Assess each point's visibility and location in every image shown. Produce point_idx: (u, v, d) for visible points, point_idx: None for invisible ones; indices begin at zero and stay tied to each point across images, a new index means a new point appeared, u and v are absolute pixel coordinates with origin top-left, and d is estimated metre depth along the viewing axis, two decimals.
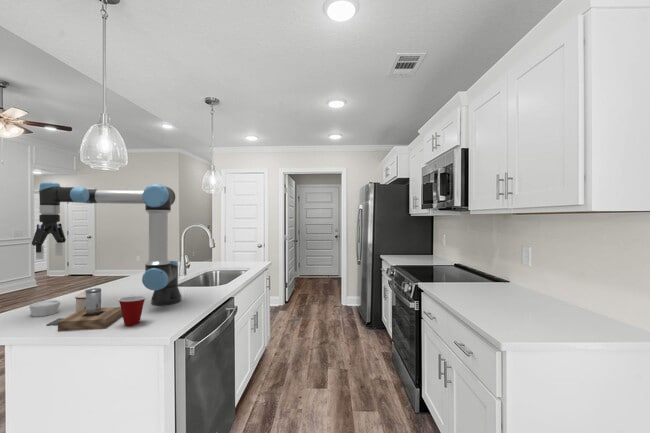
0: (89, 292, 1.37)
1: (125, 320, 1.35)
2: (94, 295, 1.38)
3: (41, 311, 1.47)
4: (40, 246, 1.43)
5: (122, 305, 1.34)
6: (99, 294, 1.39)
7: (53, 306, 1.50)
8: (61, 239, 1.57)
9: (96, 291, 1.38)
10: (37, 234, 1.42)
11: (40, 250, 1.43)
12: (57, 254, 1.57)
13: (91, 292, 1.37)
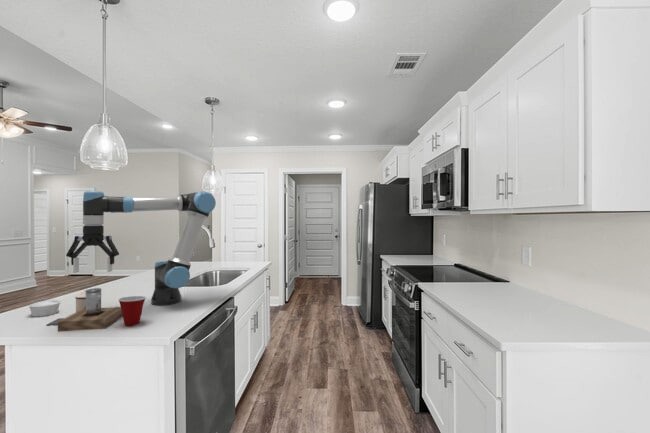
0: (89, 292, 1.37)
1: (125, 320, 1.35)
2: (94, 295, 1.38)
3: (41, 311, 1.47)
4: (73, 258, 1.37)
5: (122, 305, 1.34)
6: (99, 294, 1.39)
7: (53, 306, 1.50)
8: (108, 253, 1.39)
9: (96, 291, 1.38)
10: None
11: (72, 263, 1.37)
12: None
13: (91, 292, 1.37)
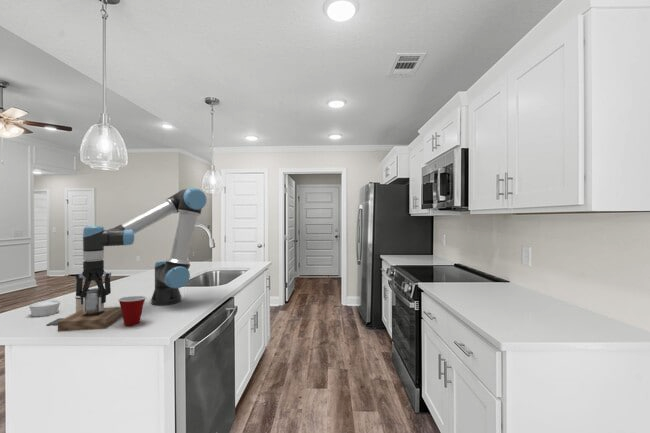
0: (89, 292, 1.37)
1: (125, 320, 1.35)
2: (94, 295, 1.38)
3: (41, 311, 1.47)
4: (82, 298, 1.38)
5: (122, 305, 1.34)
6: (99, 294, 1.39)
7: (53, 306, 1.50)
8: (101, 292, 1.39)
9: (96, 291, 1.38)
10: None
11: (82, 302, 1.38)
12: None
13: (91, 292, 1.37)
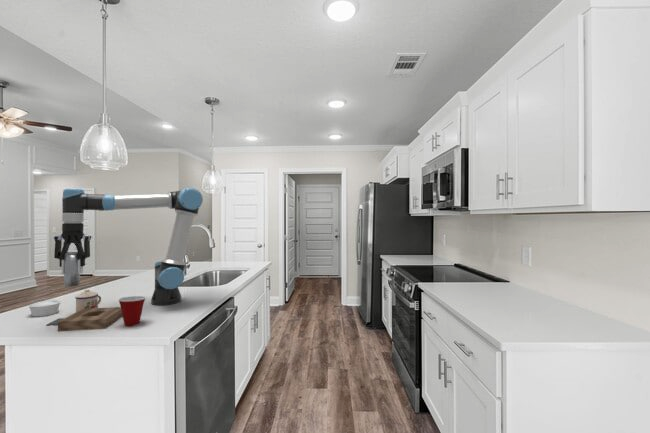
0: (68, 254, 1.37)
1: (125, 320, 1.35)
2: (73, 257, 1.37)
3: (41, 311, 1.47)
4: (61, 260, 1.38)
5: (122, 305, 1.34)
6: (78, 257, 1.39)
7: (53, 306, 1.50)
8: (80, 255, 1.39)
9: (75, 253, 1.38)
10: None
11: (61, 264, 1.38)
12: None
13: (70, 254, 1.37)
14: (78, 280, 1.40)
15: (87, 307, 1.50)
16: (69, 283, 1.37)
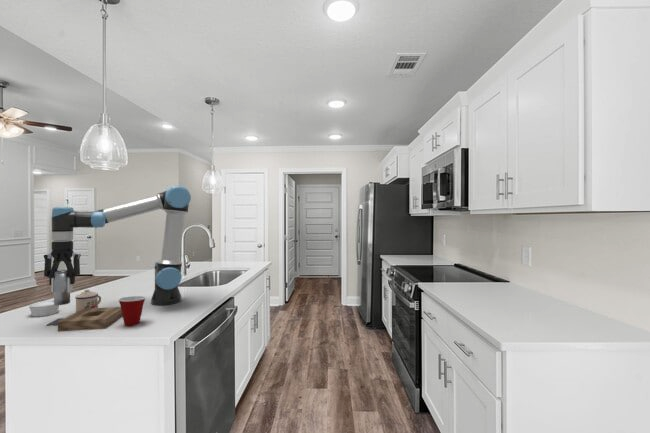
0: (57, 273, 1.37)
1: (125, 320, 1.35)
2: (62, 276, 1.38)
3: (41, 311, 1.47)
4: (51, 278, 1.38)
5: (122, 305, 1.34)
6: (68, 275, 1.40)
7: (53, 306, 1.50)
8: (69, 273, 1.39)
9: (64, 272, 1.38)
10: None
11: (51, 283, 1.38)
12: None
13: (59, 273, 1.37)
14: (68, 298, 1.40)
15: (87, 307, 1.50)
16: (58, 302, 1.37)
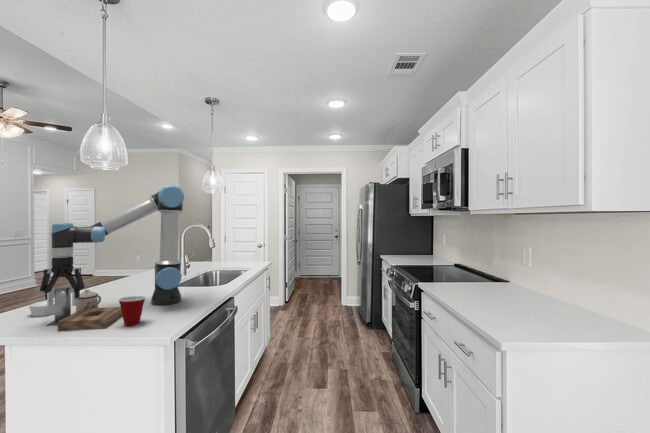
0: (58, 290, 1.37)
1: (125, 320, 1.35)
2: (63, 293, 1.38)
3: (41, 311, 1.47)
4: (46, 293, 1.38)
5: (122, 305, 1.34)
6: (68, 292, 1.40)
7: (53, 306, 1.50)
8: (73, 287, 1.40)
9: (64, 289, 1.38)
10: None
11: (46, 297, 1.38)
12: None
13: (60, 290, 1.37)
14: (69, 315, 1.40)
15: (87, 307, 1.50)
16: (59, 319, 1.37)
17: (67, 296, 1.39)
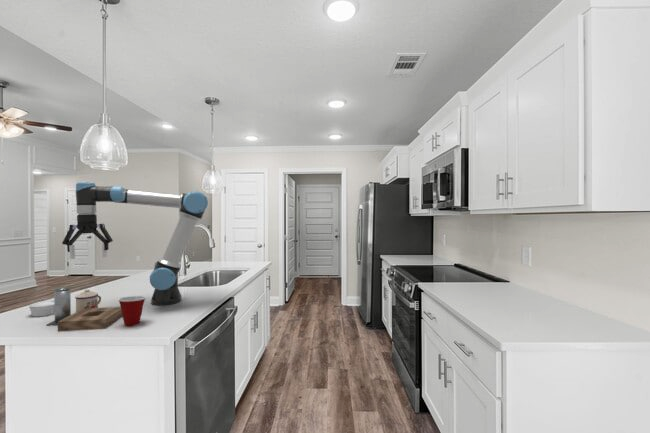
0: (57, 290, 1.37)
1: (125, 320, 1.35)
2: (62, 293, 1.38)
3: (41, 311, 1.47)
4: (68, 246, 1.46)
5: (122, 305, 1.34)
6: (68, 292, 1.40)
7: (53, 306, 1.50)
8: (102, 240, 1.49)
9: (64, 290, 1.38)
10: None
11: (69, 250, 1.46)
12: None
13: (59, 290, 1.37)
14: (69, 315, 1.40)
15: (87, 307, 1.50)
16: (59, 319, 1.37)
17: (67, 296, 1.39)
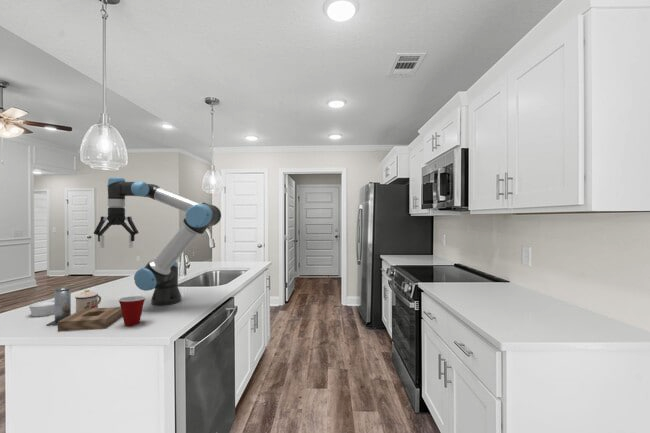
0: (57, 290, 1.37)
1: (125, 320, 1.35)
2: (63, 293, 1.38)
3: (41, 311, 1.47)
4: (99, 236, 1.59)
5: (122, 305, 1.34)
6: (68, 292, 1.40)
7: (53, 306, 1.50)
8: (129, 232, 1.61)
9: (64, 290, 1.38)
10: None
11: (99, 239, 1.59)
12: None
13: (60, 290, 1.37)
14: (69, 315, 1.40)
15: (87, 307, 1.50)
16: (59, 319, 1.37)
17: (67, 296, 1.39)
